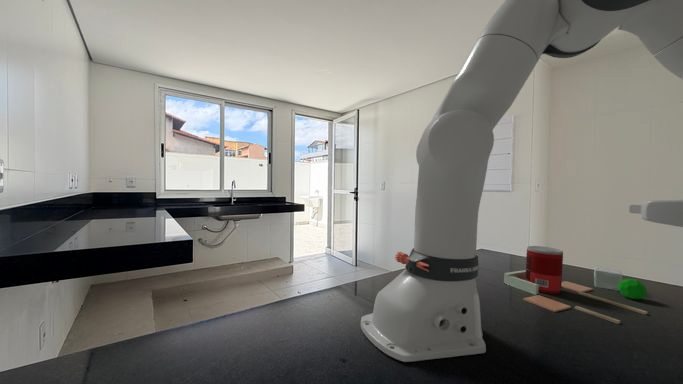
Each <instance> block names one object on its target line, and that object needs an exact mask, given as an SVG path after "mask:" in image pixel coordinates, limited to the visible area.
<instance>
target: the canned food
mask: <svg viewBox="0 0 683 384" xmlns="http://www.w3.org/2000/svg"><path fill="white" fill-rule="evenodd" d="M525 260H526V261H525V270H526V279H525V281H529V282H532V283H535V284H538V285H539V288H538V293H541V292H542V293H541V294H547V293H548V294H549V295H557V294H560V293H561V291H562V287H561V283H562V282H563V279H562V278H563V265H564V264H563V262H564V251H563V250H561V249H559V248H554V247H548V246H540V245H529V246H527V247H526V259H525Z"/></svg>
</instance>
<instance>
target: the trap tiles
mask: <svg viewBox="0 0 683 384" xmlns="http://www.w3.org/2000/svg"><path fill="white" fill-rule="evenodd" d="M561 288H562V289H563V288H564V289H566V290H569V291H573V292H576V293H579V292H584V293H587V292H590V291H593V290H594V289H593V288H592V287H589V286H588V287H587V286H586V285H581V284H579V283H574V282H570V281H568V280H566V281H564V280H563V281H562V283H561ZM522 300H523V301H525V302H528V303H531V304H534V305H535V306H538V307H541V308H543V309H546V310H549V311H551V312H554V313H557V312H561V311H565V310H569V309H571V308H572V306H571V305H568V304H565V303H563V302H560V301H558V300H554V299H550V298H548V297H545V296H542V295H540V294H538V295H533V296H528V297H523V299H522Z"/></svg>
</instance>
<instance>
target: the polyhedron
mask: <svg viewBox="0 0 683 384" xmlns="http://www.w3.org/2000/svg"><path fill="white" fill-rule="evenodd" d="M618 289H619V291H618V292H620V293H621V295H622V296H623V297H625V298H627V299H630V300H642V299H643V298H645V296H646V295H648V294H647V293H648V289H647V288H646V286H645V284H644V283H643V282H642V281H641V282H640V281H639V280H638V279H633V278H626V279H625V278H624V279H622V281H621V282H620V283H619V286H618Z"/></svg>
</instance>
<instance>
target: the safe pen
mask: <svg viewBox="0 0 683 384" xmlns="http://www.w3.org/2000/svg"><path fill="white" fill-rule="evenodd" d="M503 274H504V275H503V284H504V283H505V284H504V285H506V284H507V286H509V285H510V286H509V287H513V288H515V289H518V290H521V291H524V292H527V293H529V294H532V295H534V296H536V295H537V294H538V295H539V292H538V288H539V285H538V284H535V283H532V282H529V281H525V279H526V269H524V270H518V271H509V272H504V273H503Z"/></svg>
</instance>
